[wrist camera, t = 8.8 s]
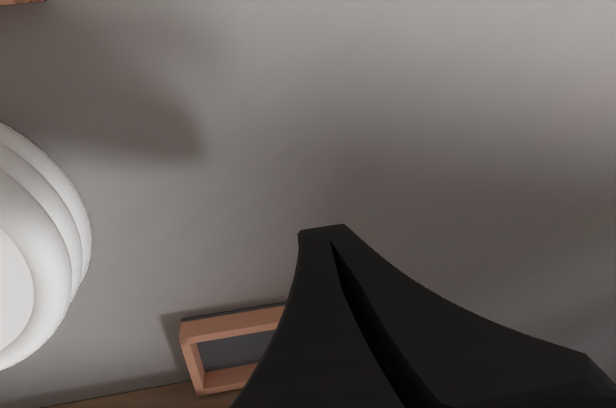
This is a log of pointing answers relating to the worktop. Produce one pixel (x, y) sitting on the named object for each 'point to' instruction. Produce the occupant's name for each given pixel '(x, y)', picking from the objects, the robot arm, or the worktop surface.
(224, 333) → the trap pits
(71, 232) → the white stacked discs
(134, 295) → the worktop surface
